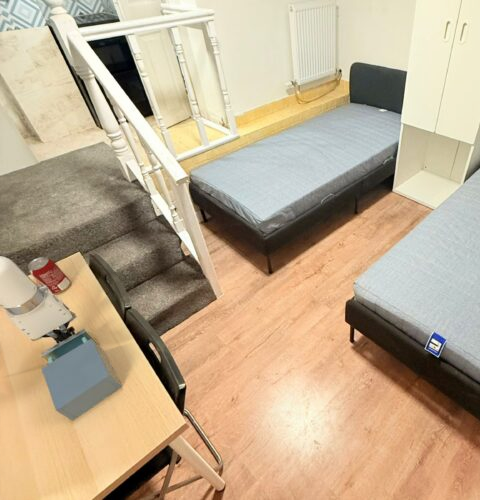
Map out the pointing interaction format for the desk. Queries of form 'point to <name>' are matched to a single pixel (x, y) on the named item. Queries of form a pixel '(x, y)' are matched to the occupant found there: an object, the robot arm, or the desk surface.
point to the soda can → (49, 274)
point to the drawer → (67, 344)
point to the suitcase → (80, 380)
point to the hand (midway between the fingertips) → (68, 339)
